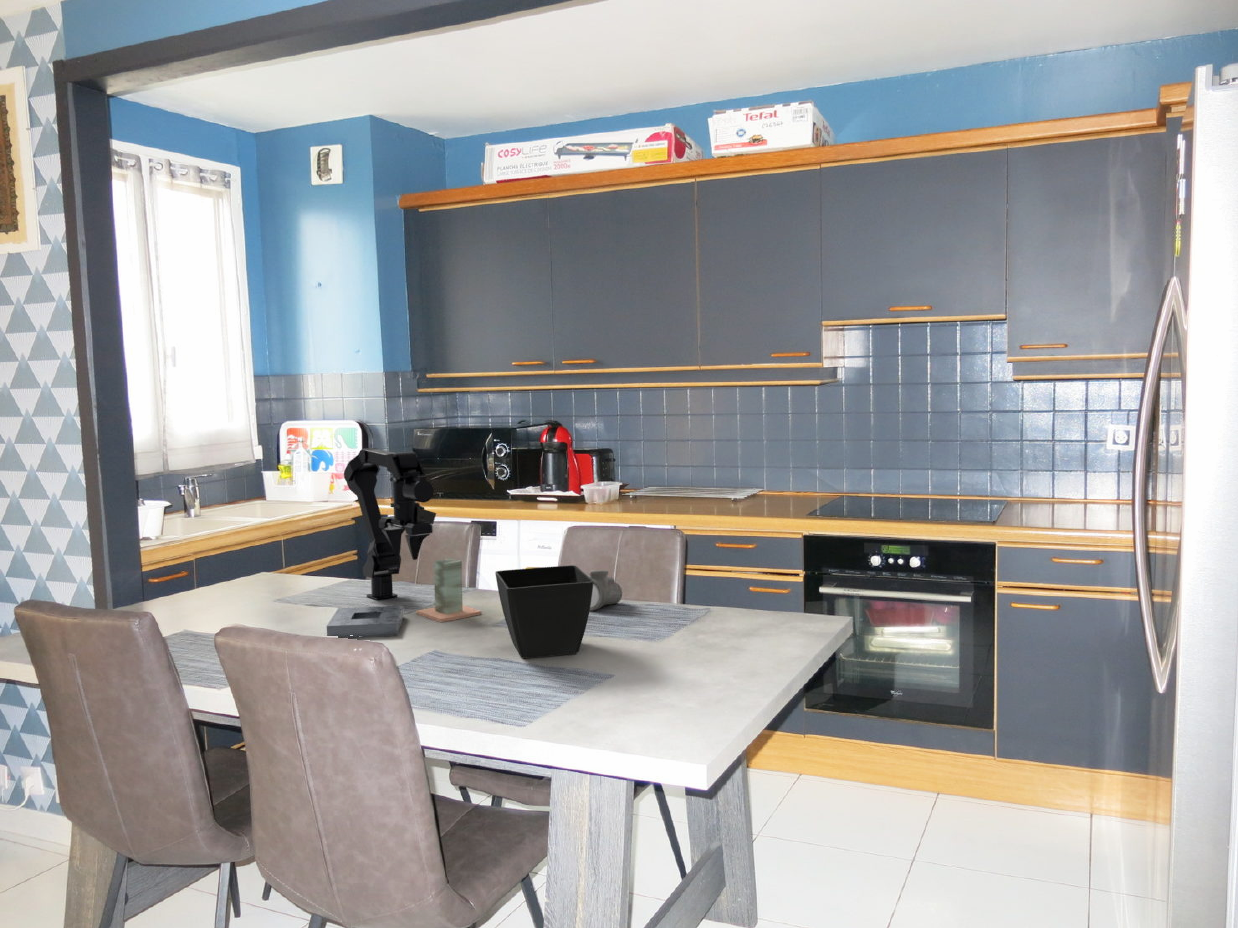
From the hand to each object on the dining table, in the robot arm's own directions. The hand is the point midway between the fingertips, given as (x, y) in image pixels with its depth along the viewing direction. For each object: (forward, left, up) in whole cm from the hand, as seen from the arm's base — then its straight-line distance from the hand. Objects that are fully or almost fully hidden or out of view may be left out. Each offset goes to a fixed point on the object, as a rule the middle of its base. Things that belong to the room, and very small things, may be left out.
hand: (406, 557), depth 259 cm
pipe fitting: (+37, +37, -13) cm, 54 cm away
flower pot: (+59, +1, -13) cm, 61 cm away
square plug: (+16, +3, -12) cm, 20 cm away
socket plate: (+14, -19, -13) cm, 27 cm away
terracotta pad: (+16, +3, -13) cm, 21 cm away
